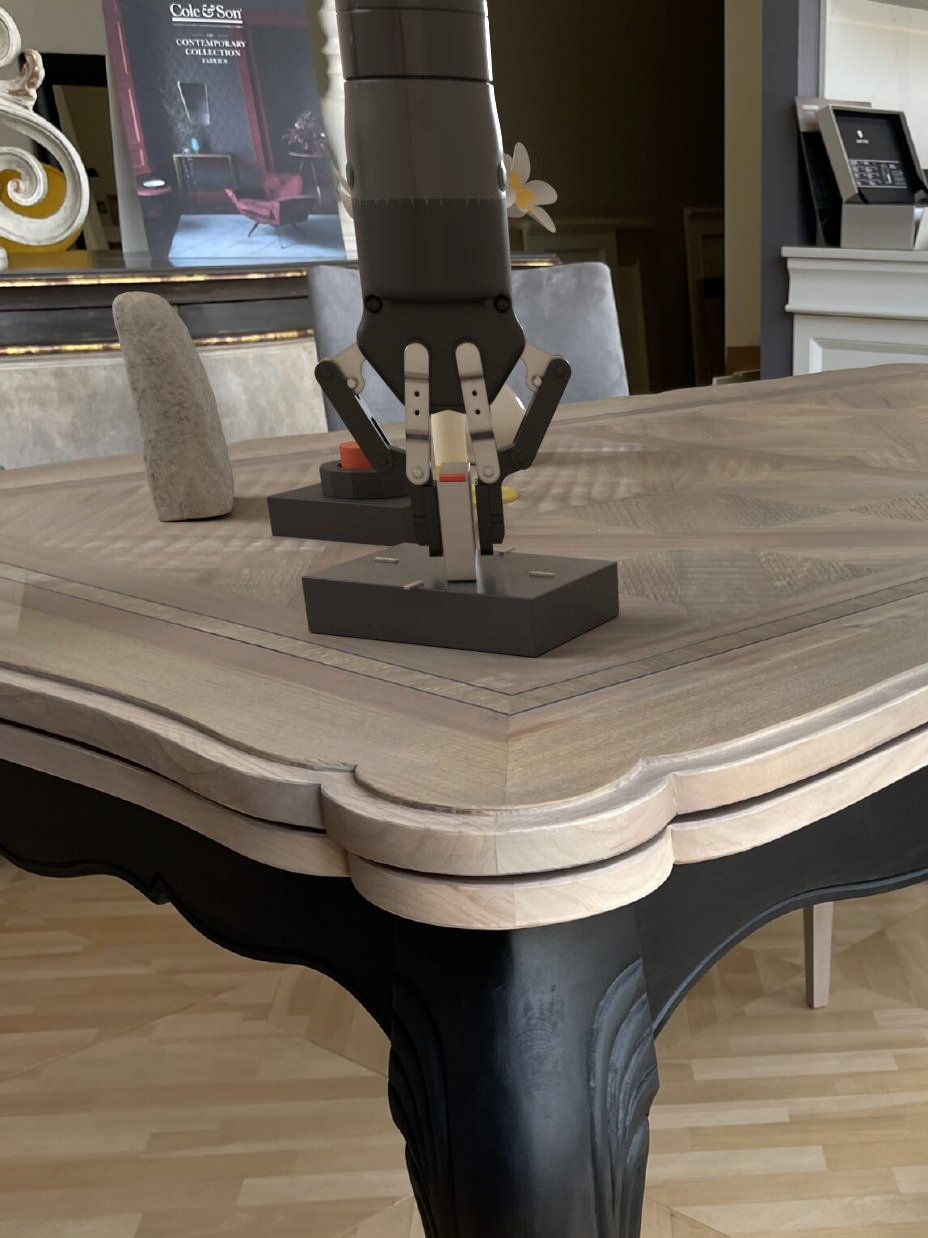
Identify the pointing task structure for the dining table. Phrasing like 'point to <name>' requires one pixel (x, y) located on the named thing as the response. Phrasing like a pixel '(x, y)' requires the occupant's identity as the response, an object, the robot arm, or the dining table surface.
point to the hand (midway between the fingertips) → (461, 552)
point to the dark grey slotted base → (463, 600)
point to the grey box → (457, 521)
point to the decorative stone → (173, 411)
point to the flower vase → (519, 203)
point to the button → (353, 456)
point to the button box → (346, 508)
